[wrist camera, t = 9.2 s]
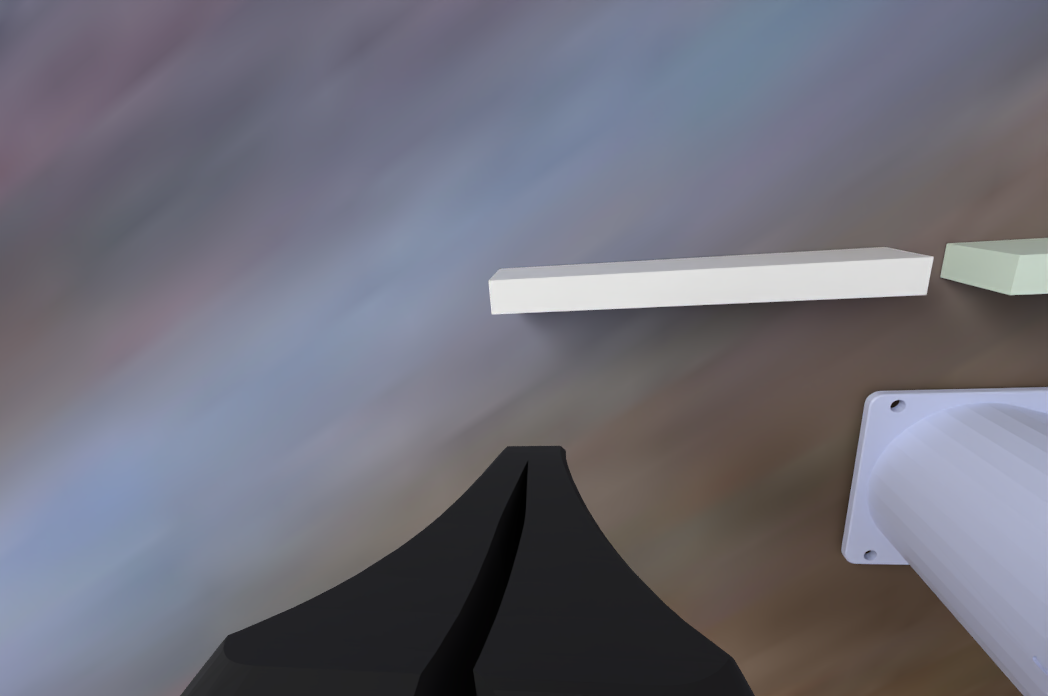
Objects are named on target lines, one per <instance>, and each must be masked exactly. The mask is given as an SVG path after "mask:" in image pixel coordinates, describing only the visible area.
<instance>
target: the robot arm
mask: <svg viewBox="0 0 1048 696" xmlns="http://www.w3.org/2000/svg"><path fill="white" fill-rule="evenodd" d="M896 400H899V403H898V405H897V406H895V407H893V408H891V407H890V406H891V404H892V403H893V402H894V401H896ZM870 550H871V551H870ZM867 551H870V552H869V553H866V554H865V552H867ZM841 552H842V554H843V555H844V557H845V558H846V560H847V561H848V562H850V563H854V564H897V565H910V566H911V567H912V568H913V569H914V570H915V572H916V573H917V574H918V575H919V576H920V577H921V578H922V580H923V581H924V582H925V583H926V584H927V585H928V586H929V588H930V589H931V590H932V591H933V592H934V593H935V594H936V596H937V597H938V598H939V599H940V600H941V601H942V603H943V604H944V605H945V606H946V607H947V608H948V609H949V611H950V612H951V613H952V614H953V615H954V616H955V617H956V619H957V620H958V621H959V622H960V623H961V624H962V626H963V627H964V628H965V629H966V630H967V631H968V632H969V634H970V635H971V636H972V637H973V638H974V639H975V640H976V642H977V643H978V644H979V645H980V646H981V647H982V648H983V650H984V651H985V652H986V653H987V654H988V655H989V657H990V658H991V659H992V660H993V661H994V662H995V663H996V665H997V666H998V667H999V668H1000V669H1001V670H1002V671H1003V673H1004V674H1005V675H1006V676H1007V677H1008V678H1009V680H1010V681H1011V682H1012V683H1013V684H1014V685H1015V686H1016V688H1017V689H1018V690H1019V691H1020V692H1021V693H1022V694H1023V696H1048V387H1028V388H984V389H940V390H896V391H877V392H874V393H872V394H870V395H869V396H868V397H867V398H866V401H865V404H864V411H863V417H862V423H861V429H860V436H859V442H858V448H857V454H856V460H855V467H854V473H853V479H852V485H851V492H850V498H849V504H848V510H847V517H846V523H845V529H844V535H843V542H842V548H841ZM180 696H754V694H753V692H752V690H751V688H750V686H749V685H748V683H747V681H746V679H745V677H744V676H743V674H742V672H741V670H740V669H739V667H738V665H737V664H736V662H735V660H734V659H733V658H732V657H731V656H730V655H729V654H727V653H726V652H725V651H723V650H722V649H721V648H719V647H718V646H717V645H715V644H714V643H713V642H711V641H710V640H709V639H707V638H706V637H705V636H703V635H702V634H701V633H700V632H698V631H697V630H696V629H694V628H693V627H692V626H690V625H689V624H688V623H686V622H685V621H684V620H683V619H681V618H680V617H679V616H678V615H677V614H676V613H675V612H674V611H672V610H671V609H670V608H669V607H668V606H667V605H666V604H665V603H664V602H663V601H662V600H661V599H660V598H659V597H658V596H657V595H656V594H655V593H654V592H653V591H652V590H651V589H650V588H649V587H648V586H647V585H646V584H645V583H644V582H643V581H642V580H641V579H640V578H639V577H638V576H637V575H636V574H635V573H634V572H633V571H632V569H631V568H630V567H629V566H628V565H627V564H626V562H625V561H624V560H623V559H622V558H621V556H620V555H619V554H618V553H617V551H616V550H615V549H614V547H613V546H612V545H611V544H610V542H609V541H608V540H607V538H606V537H605V535H604V534H603V532H602V531H601V530H600V528H599V527H598V525H597V523H596V522H595V520H594V519H593V517H592V515H591V514H590V512H589V510H588V509H587V507H586V505H585V503H584V501H583V500H582V498H581V496H580V494H579V491H578V489H577V487H576V485H575V483H574V481H573V479H572V476H571V473H570V471H569V468H568V465H567V461H566V451H565V450H564V449H563V448H562V447H561V446H509V447H506V448H505V449H504V450H503V451H502V452H501V454H500V455H499V456H498V457H497V458H496V459H495V460H494V461H493V463H492V464H491V465H490V466H489V467H488V468H487V469H486V471H485V472H484V473H483V474H482V475H481V476H480V477H479V478H478V479H477V480H476V481H475V482H474V483H473V485H472V486H471V487H470V488H469V489H468V490H467V491H466V492H465V493H464V494H463V495H462V496H461V497H460V498H459V499H458V500H457V501H456V502H455V503H454V504H453V505H451V506H450V507H449V508H448V509H447V510H446V511H445V512H444V513H443V514H442V515H441V516H440V517H438V518H437V519H436V520H435V521H434V522H433V523H431V524H430V525H429V526H428V527H426V528H425V529H424V530H423V531H421V532H420V533H419V534H417V535H416V536H415V537H413V538H412V539H411V540H409V541H408V542H407V543H405V544H404V545H402V546H401V547H400V548H398V549H397V550H395V551H394V552H392V553H390V554H389V555H387V556H386V557H384V558H383V559H381V560H379V561H378V562H376V563H375V564H373V565H372V566H370V567H368V568H367V569H365V570H364V571H362V572H361V573H359V574H357V575H355V576H354V577H352V578H350V579H348V580H346V581H345V582H343V583H341V584H339V585H337V586H336V587H334V588H332V589H330V590H328V591H326V592H324V593H322V594H320V595H318V596H316V597H314V598H312V599H310V600H308V601H306V602H304V603H302V604H300V605H298V606H296V607H294V608H291V609H289V610H287V611H285V612H282V613H280V614H278V615H275V616H273V617H271V618H268V619H266V620H264V621H261V622H259V623H257V624H255V625H252V626H250V627H248V628H245V629H243V630H240V631H238V632H235V633H233V634H230V635H228V636H227V637H226V638H225V640H224V641H223V642H222V643H221V644H220V646H219V647H218V648H217V649H216V651H215V652H214V653H213V654H212V656H211V657H210V658H209V660H208V661H207V662H206V663H205V665H204V666H203V667H202V669H201V670H200V671H199V672H198V674H197V675H196V676H195V678H194V679H193V680H192V681H191V683H190V684H189V685H188V687H187V688H186V689H185V690H184V692H183V693H182V694H181V695H180Z"/></svg>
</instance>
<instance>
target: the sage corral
mask: <svg viewBox="0 0 1048 696" xmlns="http://www.w3.org/2000/svg"><path fill="white" fill-rule="evenodd" d="M940 277H941V278H945V279H949V280H953V281H957V282H961V283H964V284H968V285H972V286H976V287H980V288H984V289H988V290H992V291H996V292H999V293H1003V294H1007V295H1026V294H1048V238H1035V239H1017V240H999V241H982V242H964V243H947V245H946V250H945V256H944V261H943V266H942V271H941V276H940Z"/></svg>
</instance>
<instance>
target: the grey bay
mask: <svg viewBox="0 0 1048 696" xmlns="http://www.w3.org/2000/svg"><path fill="white" fill-rule="evenodd" d="M932 263H933V257H932V256H927V255H922V254H917V253H913V252H908V251H903V250H898V249H893V248H888V247H876V248H858V249H840V250H822V251H805V252H787V253H769V254H752V255H734V256H716V257H699V258H681V259H663V260H645V261H628V262H610V263H592V264H575V265H557V266H539V267H522V268H504V269H499V270H498V271H497V272H496V273H495V274H494V275H493V276H492V277H491V279H490V280H489V291H490V301H491V311H492V314H511V313H534V312H556V311H578V310H601V309H623V308H645V307H668V306H690V305H712V304H735V303H757V302H779V301H801V300H824V299H846V298H868V297H891V296H913V295H926V294H927V289H928V284H929V279H930V273H931V268H932Z"/></svg>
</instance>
